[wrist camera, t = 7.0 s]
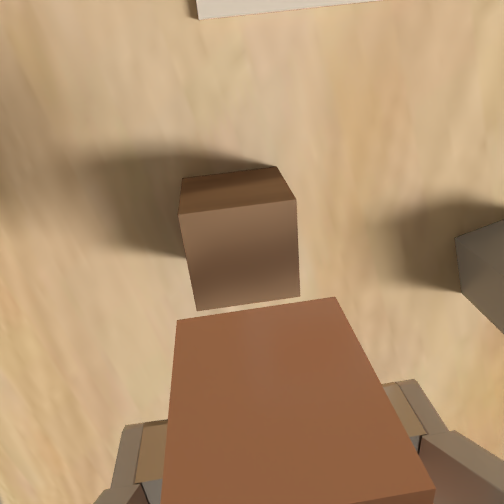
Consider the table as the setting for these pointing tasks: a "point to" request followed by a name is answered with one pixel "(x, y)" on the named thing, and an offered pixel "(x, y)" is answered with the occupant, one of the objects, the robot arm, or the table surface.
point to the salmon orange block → (283, 414)
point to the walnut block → (240, 237)
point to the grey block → (483, 270)
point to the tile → (260, 6)
